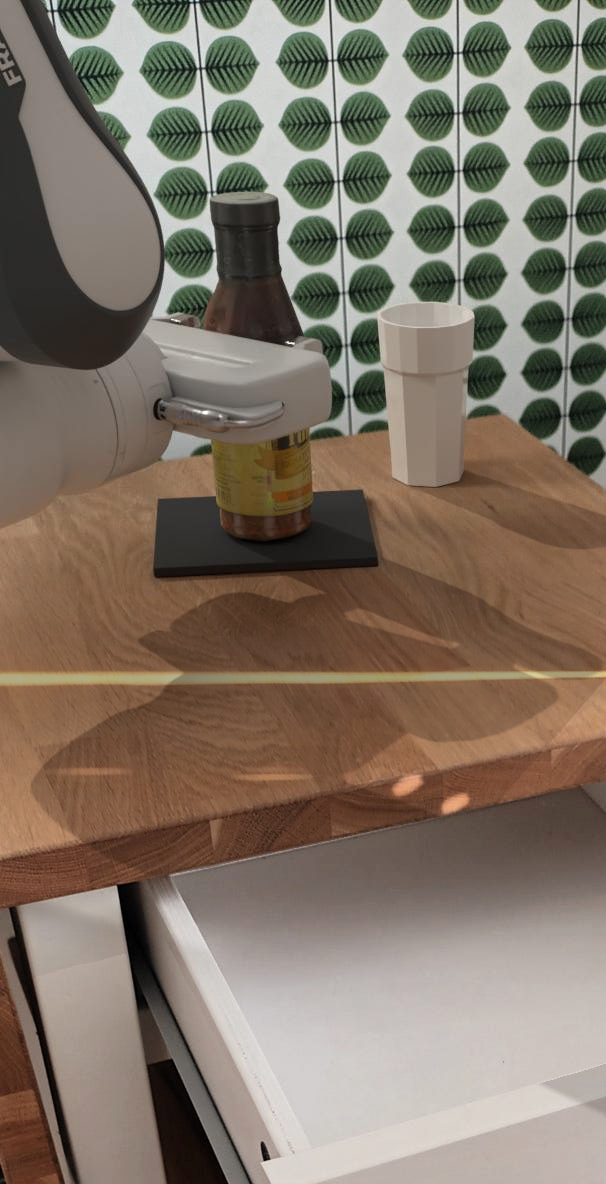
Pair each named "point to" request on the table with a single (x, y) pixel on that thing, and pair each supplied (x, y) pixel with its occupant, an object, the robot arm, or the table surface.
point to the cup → (426, 388)
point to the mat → (204, 547)
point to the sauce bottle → (264, 313)
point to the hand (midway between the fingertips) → (251, 339)
